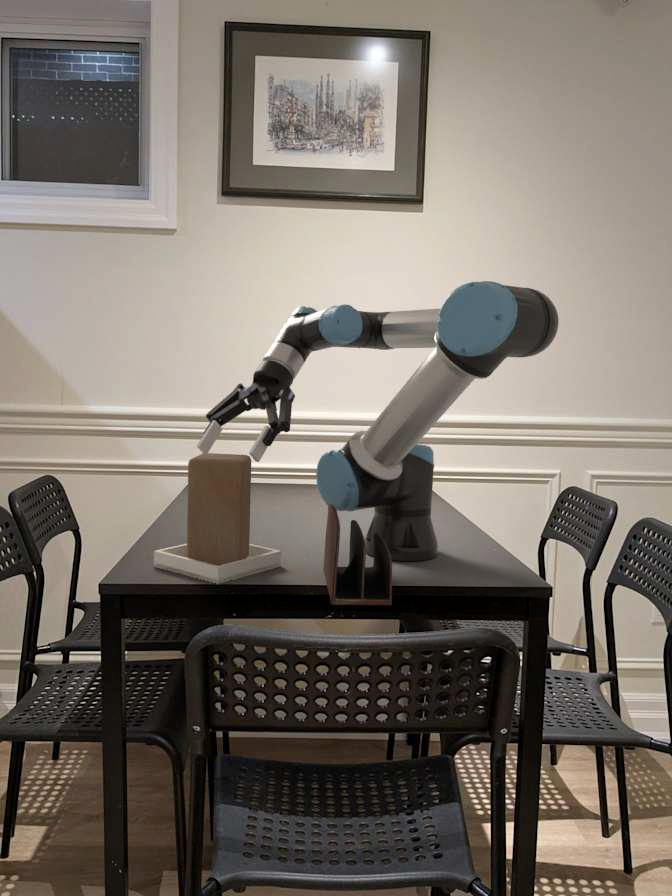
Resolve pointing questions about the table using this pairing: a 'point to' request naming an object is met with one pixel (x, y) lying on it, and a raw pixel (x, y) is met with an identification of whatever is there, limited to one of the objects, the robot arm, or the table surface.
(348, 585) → the letter holder
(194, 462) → the block
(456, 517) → the table surface
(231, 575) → the tray
